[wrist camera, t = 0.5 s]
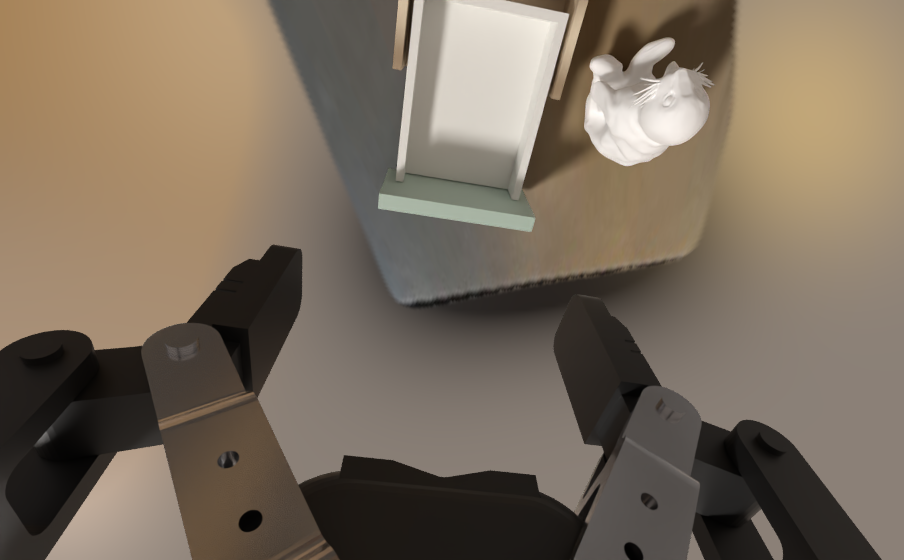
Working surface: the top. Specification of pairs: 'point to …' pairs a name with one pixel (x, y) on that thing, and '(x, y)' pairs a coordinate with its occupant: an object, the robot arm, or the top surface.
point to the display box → (571, 3)
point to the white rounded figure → (644, 105)
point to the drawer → (472, 110)
